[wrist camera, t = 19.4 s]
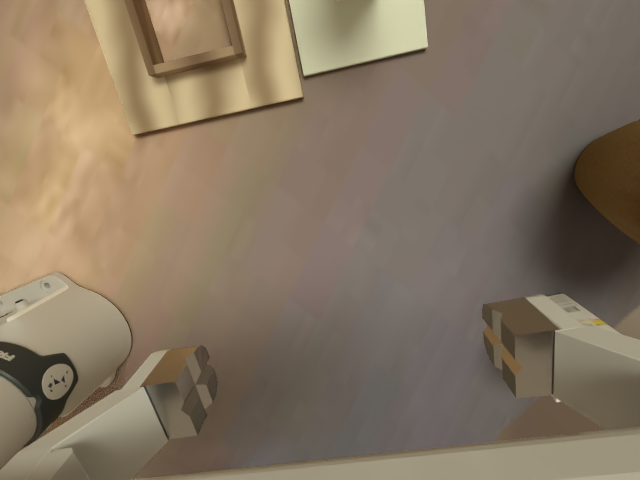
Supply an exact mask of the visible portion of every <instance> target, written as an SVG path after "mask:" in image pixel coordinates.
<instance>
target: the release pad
mask: <svg viewBox="0 0 640 480" xmlns="http://www.w3.org/2000/svg"><path fill="white" fill-rule="evenodd" d="M289 3H290V8H291V13H292V18H293V23H294V28H295V33H296V39H297V44H298V49H299V54H300V59H301V64H302V69H303V74H304V77H305V76H310V75H314V74H318V73H323V72H327V71H331V70H336V69H340V68H344V67H349V66H353V65H357V64H362V63H366V62H370V61H375V60H379V59H383V58H387V57H392V56H396V55H400V54H405V53H409V52H413V51H418V50H422V49H426V48H427V47H428V43H427V32H426V20H425V9H424V0H345V1H341V2H337V3H333V0H289Z"/></svg>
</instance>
